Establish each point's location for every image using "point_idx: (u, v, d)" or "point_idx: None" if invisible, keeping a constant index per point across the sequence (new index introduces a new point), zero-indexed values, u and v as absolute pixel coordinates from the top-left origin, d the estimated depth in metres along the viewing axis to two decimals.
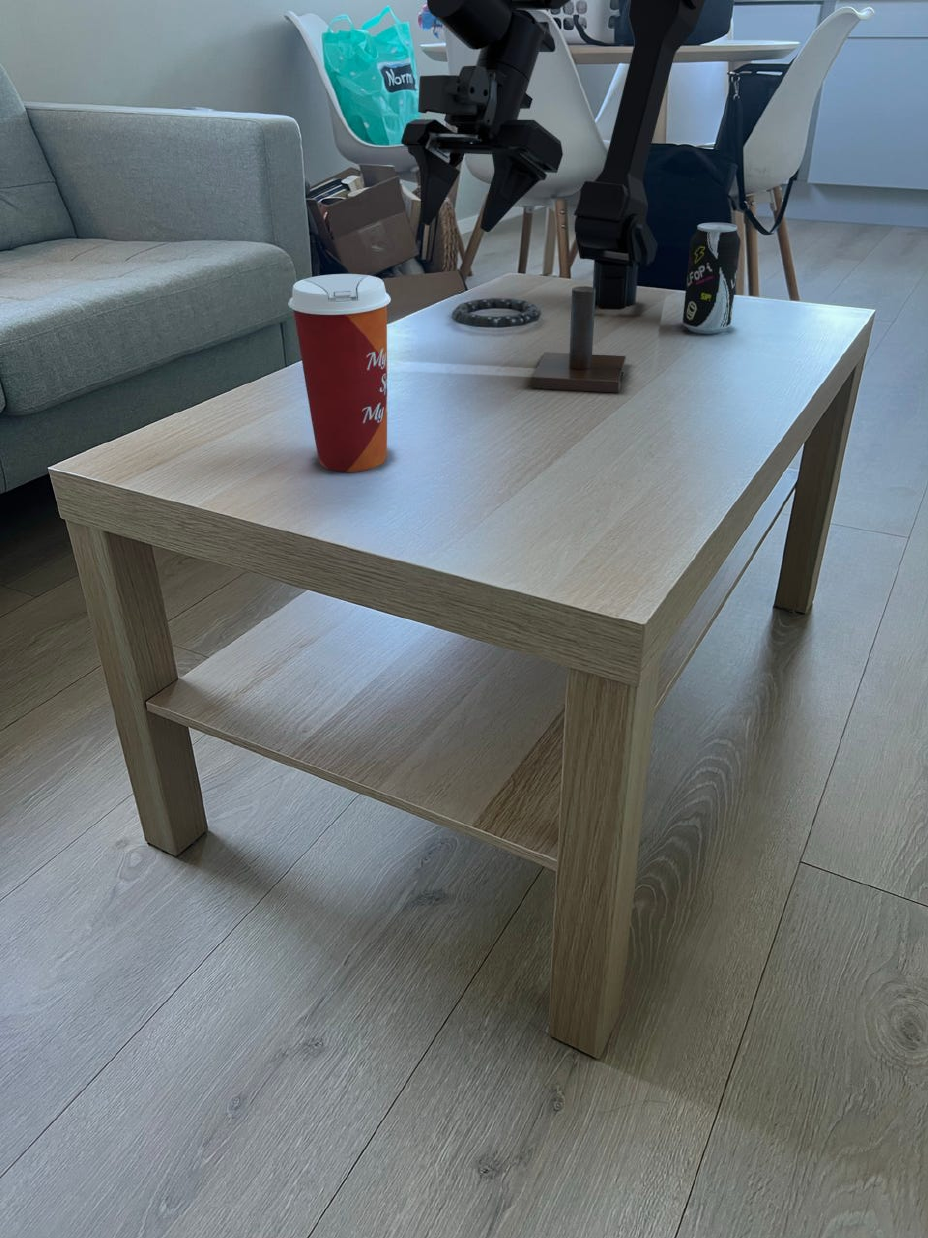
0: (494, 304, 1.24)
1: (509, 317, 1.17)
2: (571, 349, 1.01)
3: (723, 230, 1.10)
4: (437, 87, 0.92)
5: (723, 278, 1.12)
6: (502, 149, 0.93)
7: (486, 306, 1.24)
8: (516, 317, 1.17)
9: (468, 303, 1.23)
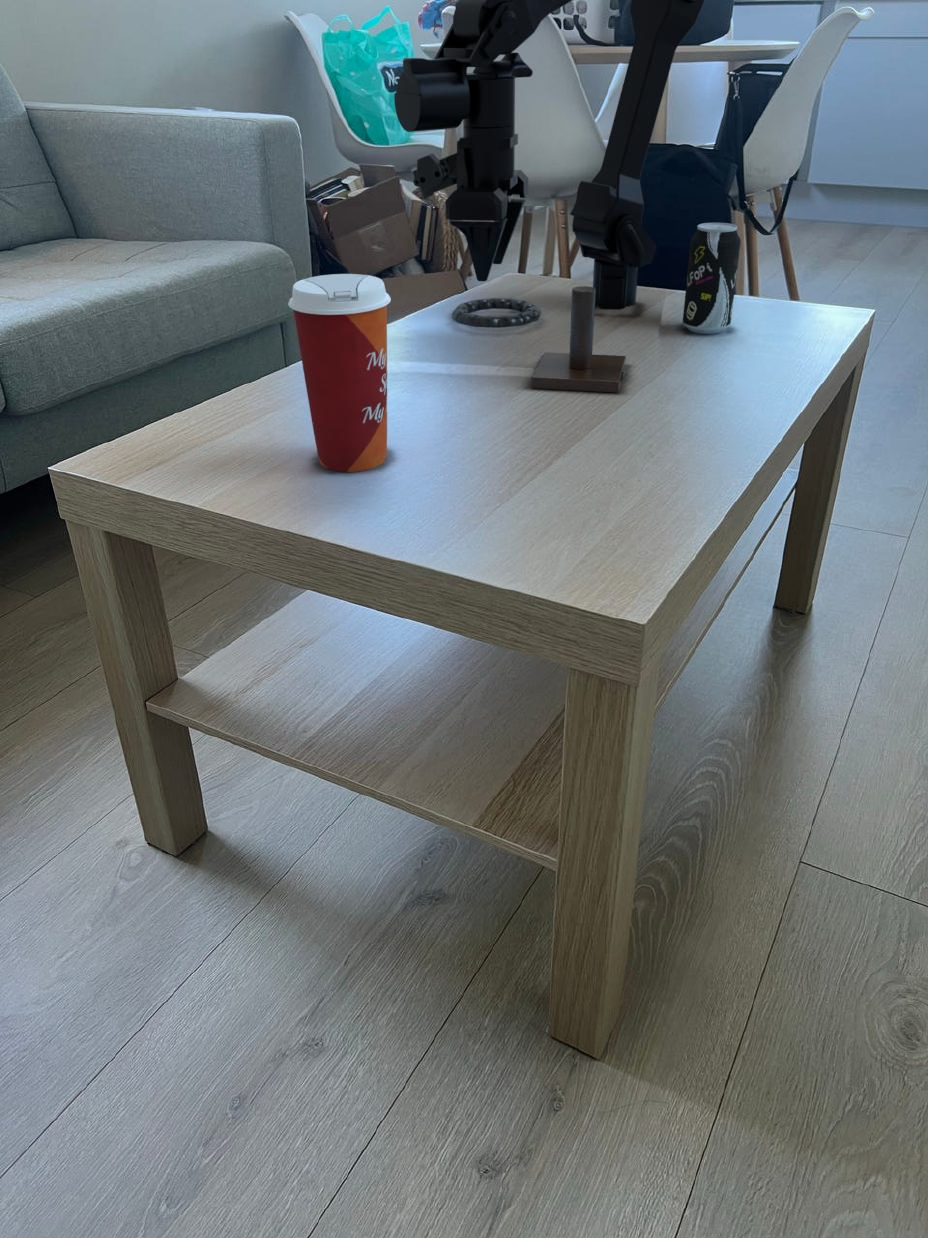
0: (494, 304, 1.24)
1: (509, 317, 1.17)
2: (571, 349, 1.01)
3: (723, 230, 1.10)
4: None
5: (723, 278, 1.12)
6: None
7: (486, 306, 1.24)
8: (516, 317, 1.17)
9: (468, 303, 1.23)
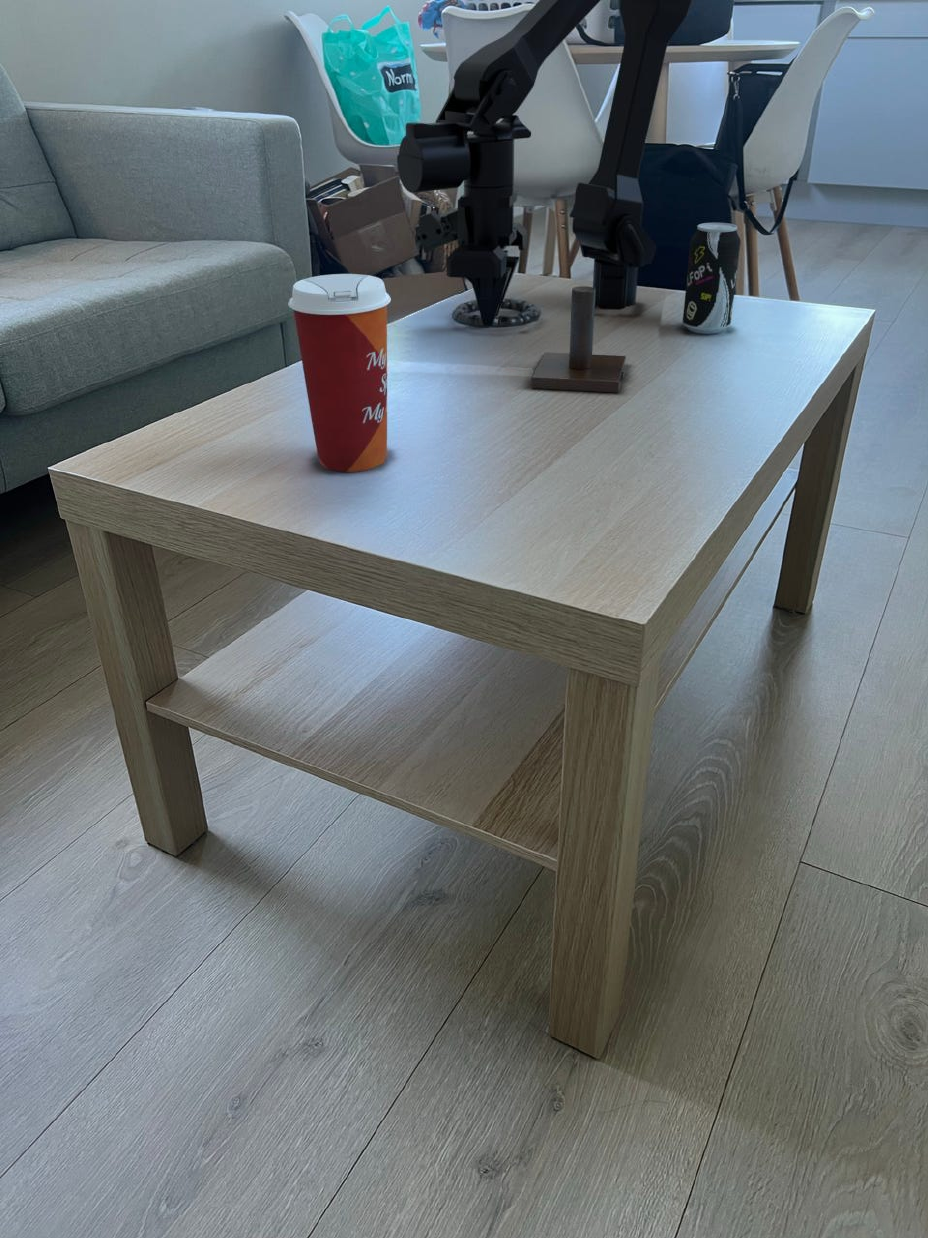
0: None
1: (509, 317, 1.17)
2: (571, 349, 1.01)
3: (723, 230, 1.10)
4: None
5: (723, 278, 1.12)
6: None
7: None
8: (516, 317, 1.17)
9: (468, 303, 1.23)
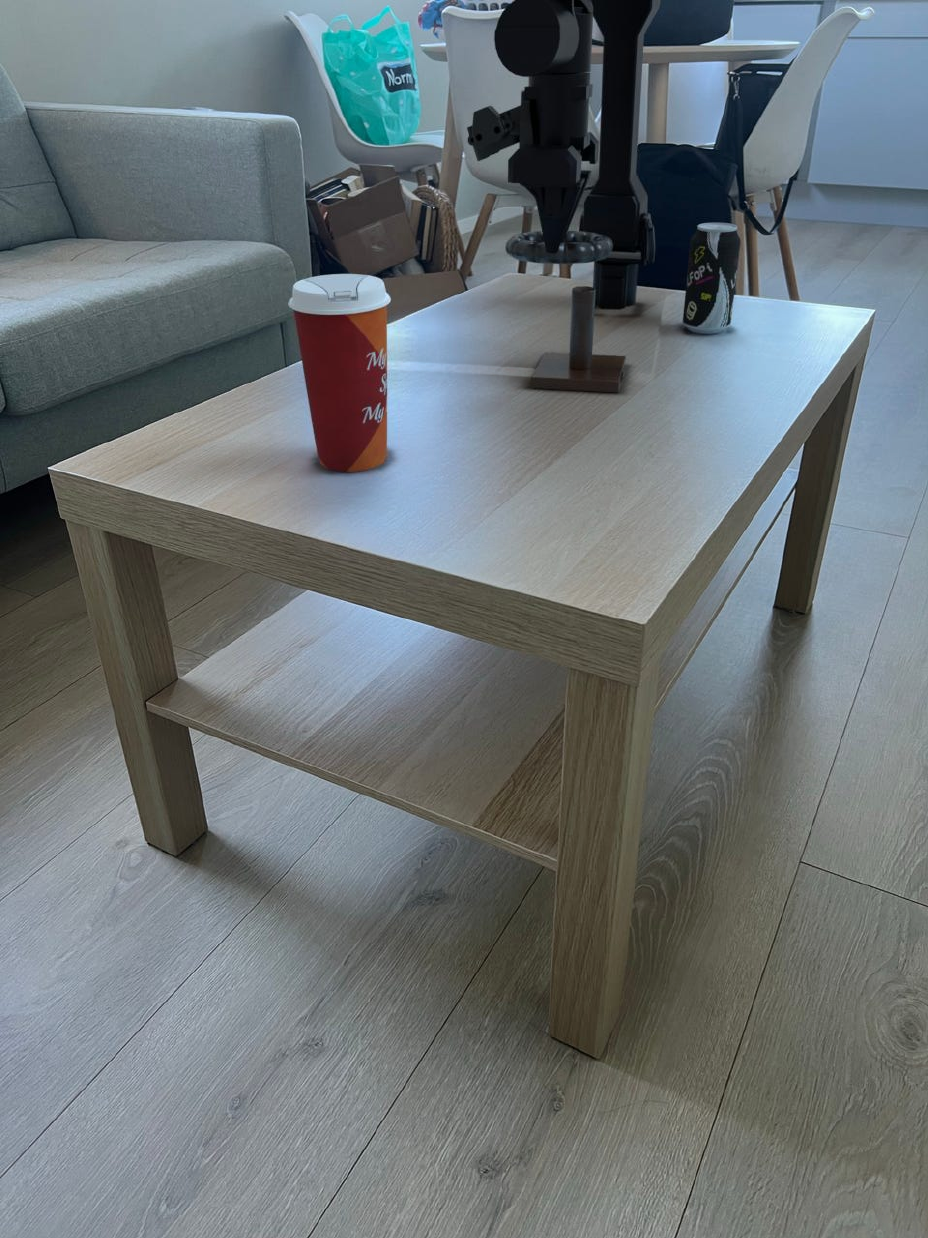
0: None
1: (577, 244, 0.96)
2: (571, 349, 1.01)
3: (723, 230, 1.10)
4: None
5: (723, 278, 1.12)
6: None
7: None
8: (586, 244, 0.96)
9: (525, 234, 1.02)
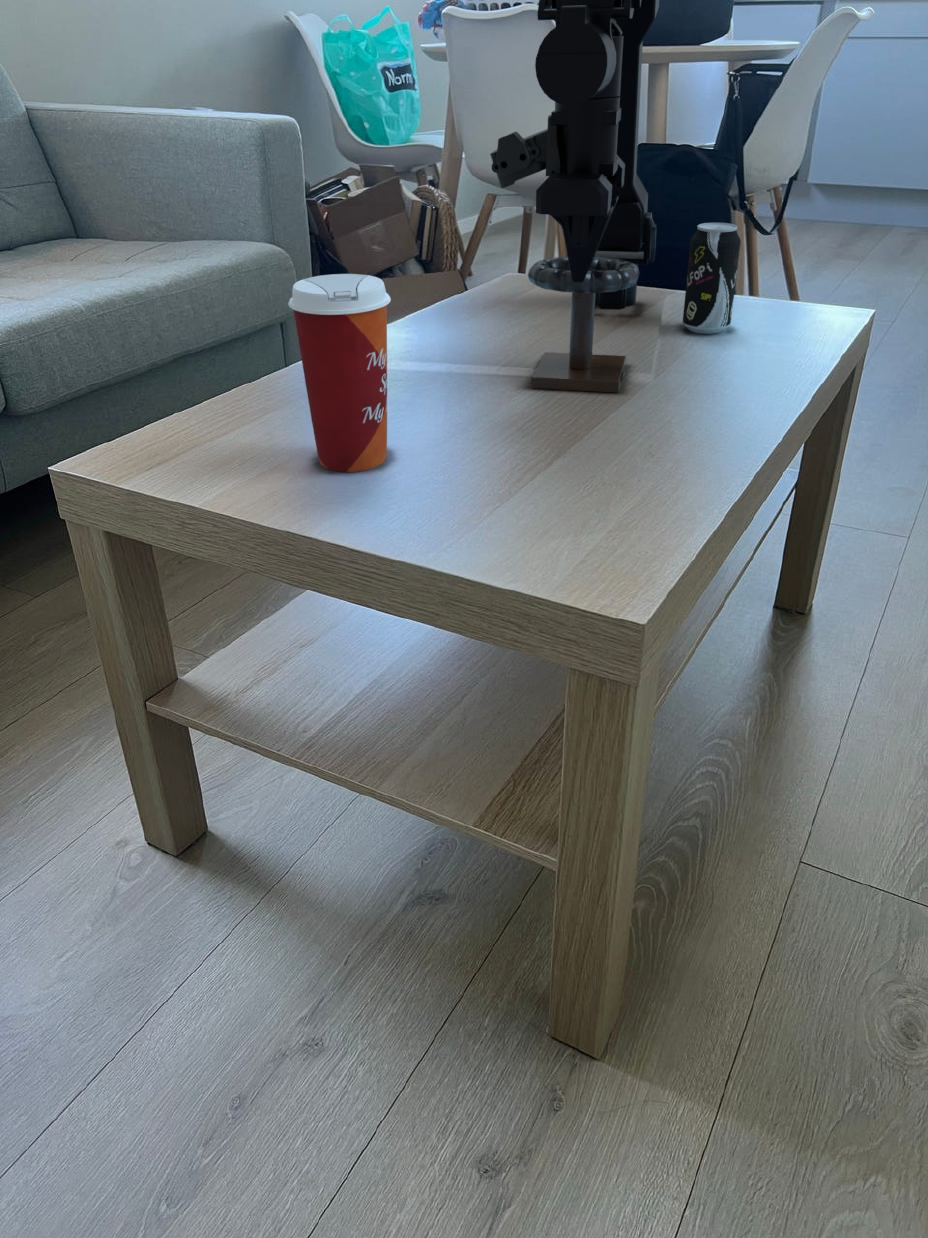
0: None
1: (604, 272, 0.93)
2: (571, 349, 1.01)
3: (723, 230, 1.10)
4: None
5: (723, 278, 1.12)
6: None
7: None
8: (613, 272, 0.93)
9: (547, 260, 0.99)
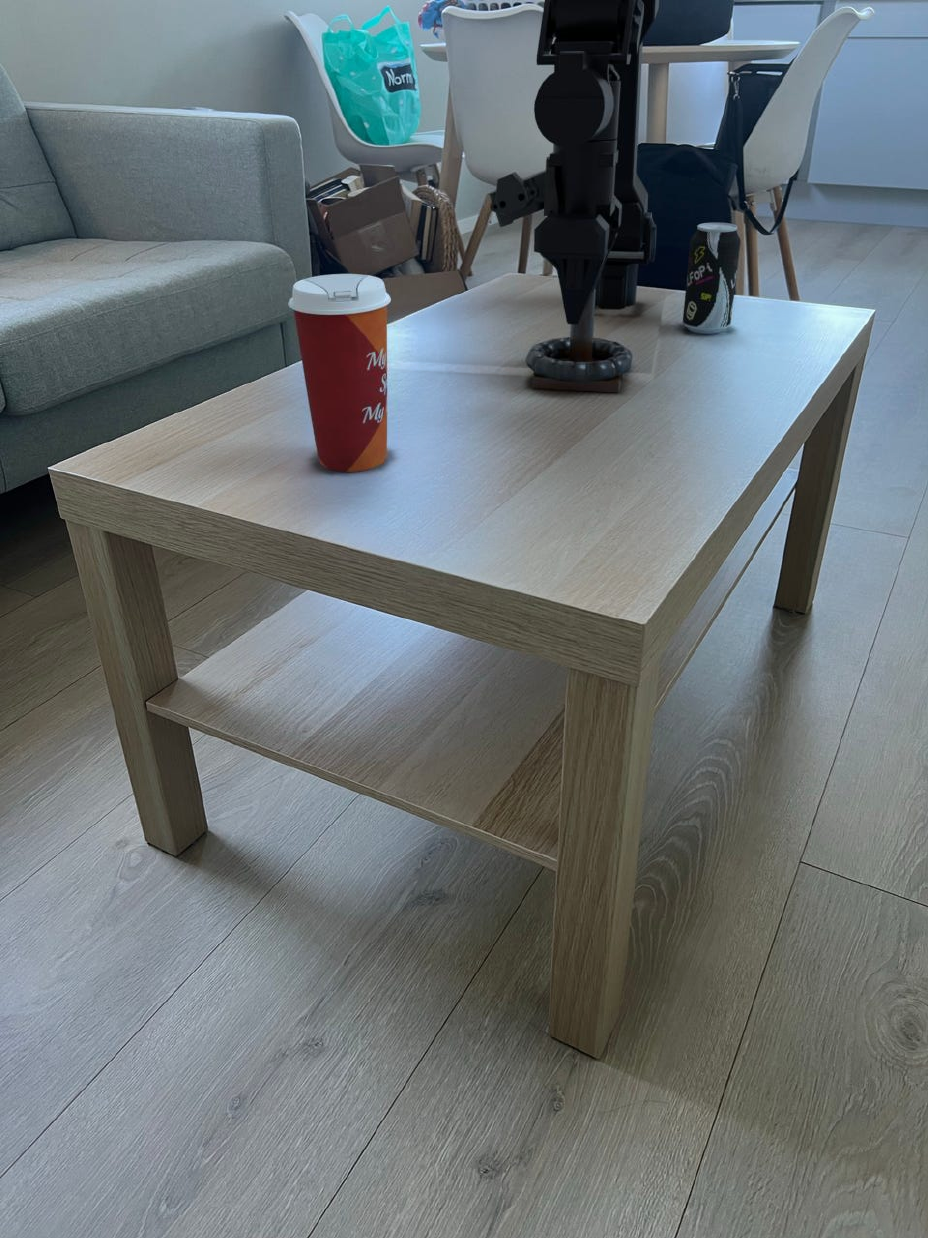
0: None
1: (598, 363, 0.97)
2: (571, 349, 1.01)
3: (723, 230, 1.10)
4: None
5: (723, 278, 1.12)
6: None
7: (565, 347, 1.04)
8: (607, 363, 0.97)
9: (544, 344, 1.03)
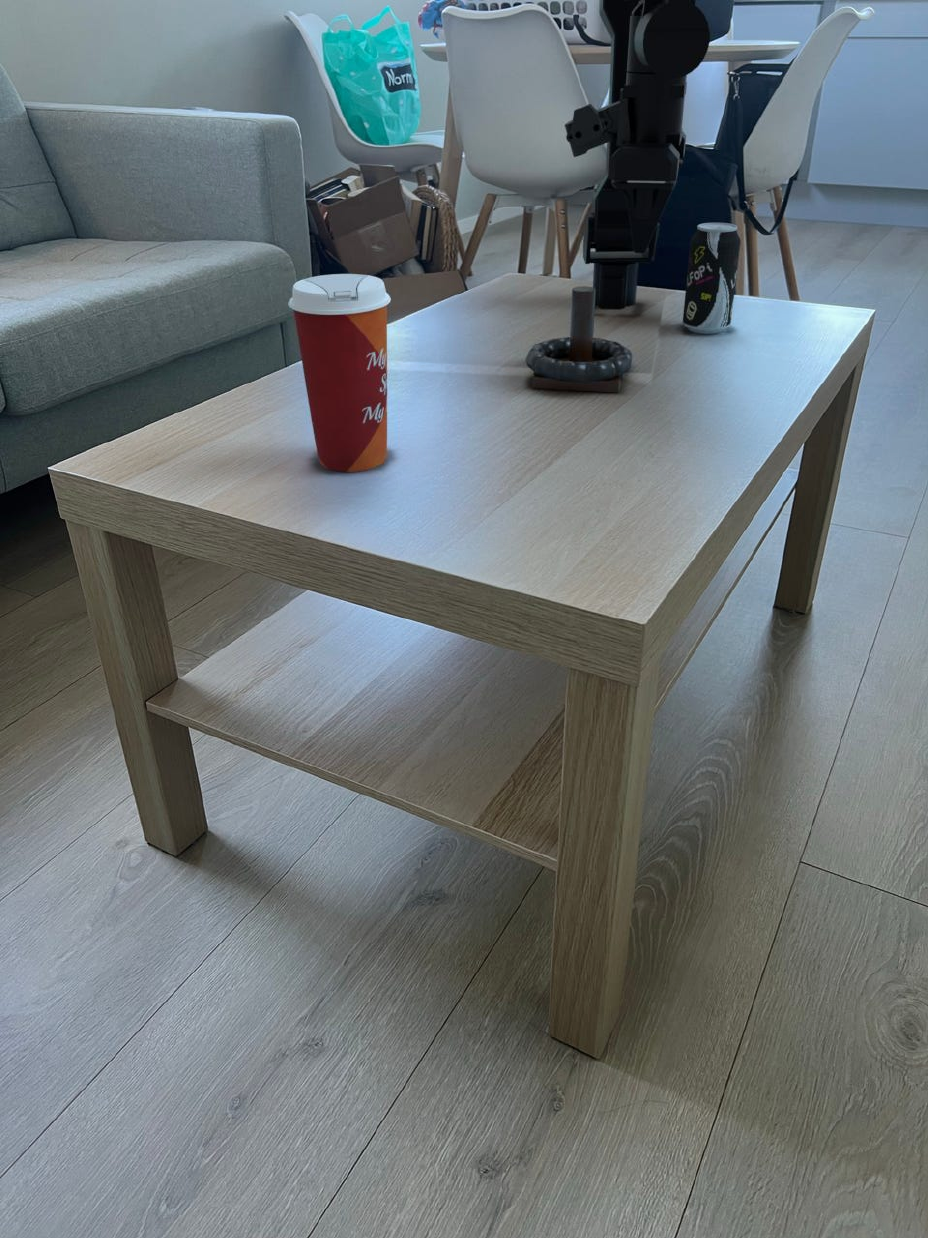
0: None
1: (598, 363, 0.97)
2: (571, 349, 1.01)
3: (723, 230, 1.10)
4: None
5: (723, 278, 1.12)
6: (612, 181, 0.92)
7: (565, 347, 1.04)
8: (607, 363, 0.97)
9: (544, 344, 1.03)
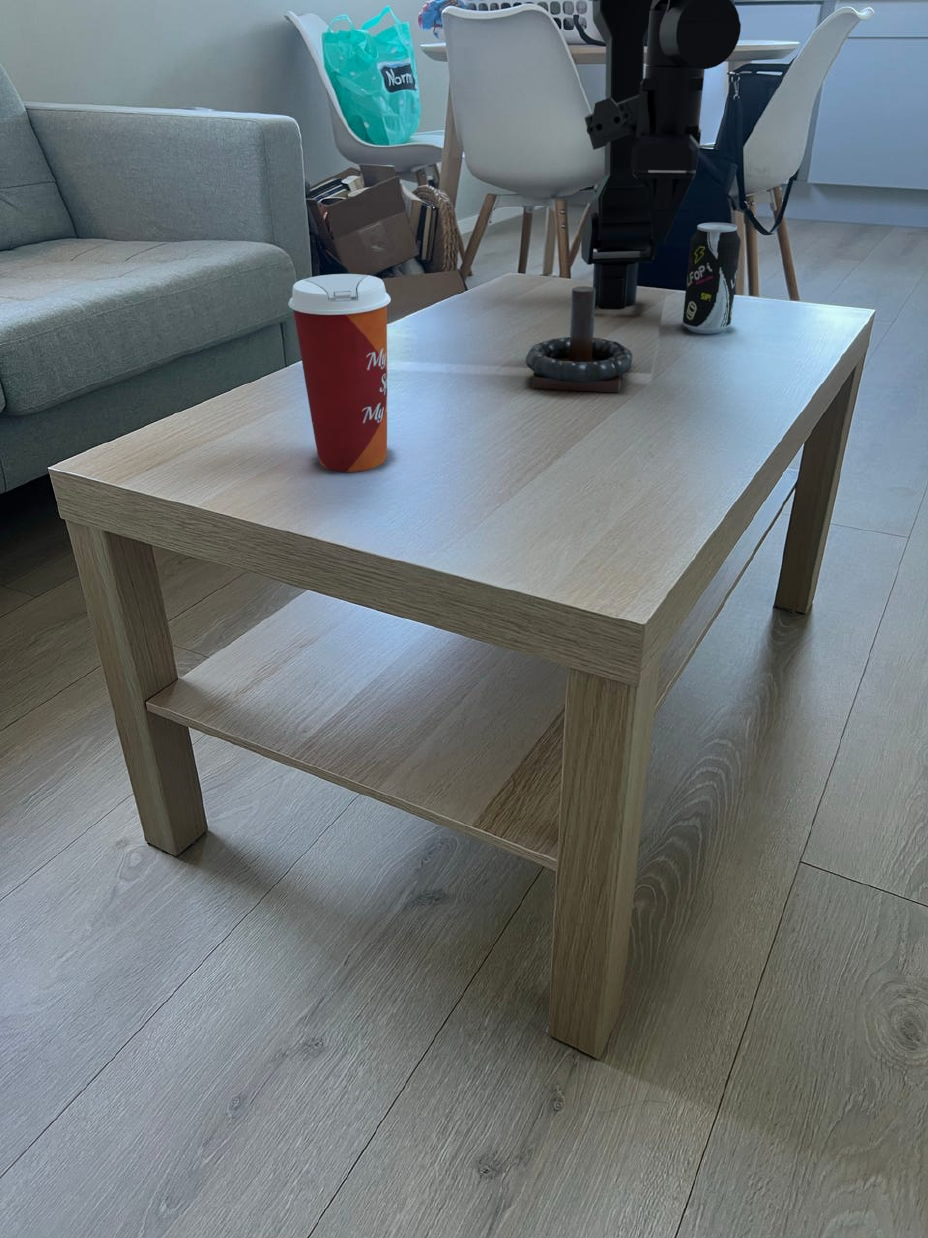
0: None
1: (598, 363, 0.97)
2: (571, 349, 1.01)
3: (723, 230, 1.10)
4: None
5: (723, 278, 1.12)
6: (633, 172, 0.93)
7: (565, 347, 1.04)
8: (607, 363, 0.97)
9: (544, 344, 1.03)
